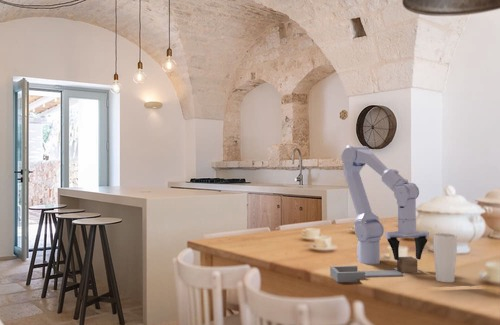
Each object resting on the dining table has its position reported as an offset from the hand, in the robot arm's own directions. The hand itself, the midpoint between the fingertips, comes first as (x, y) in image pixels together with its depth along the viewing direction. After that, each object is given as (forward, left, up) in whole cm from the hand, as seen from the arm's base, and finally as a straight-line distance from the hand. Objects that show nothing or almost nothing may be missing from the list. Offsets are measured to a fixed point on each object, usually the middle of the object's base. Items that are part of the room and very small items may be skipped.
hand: (407, 259), depth 160 cm
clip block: (0, 0, -4) cm, 4 cm away
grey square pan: (+4, -16, -5) cm, 17 cm away
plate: (0, 0, -5) cm, 5 cm away
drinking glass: (+13, +6, -5) cm, 16 cm away
